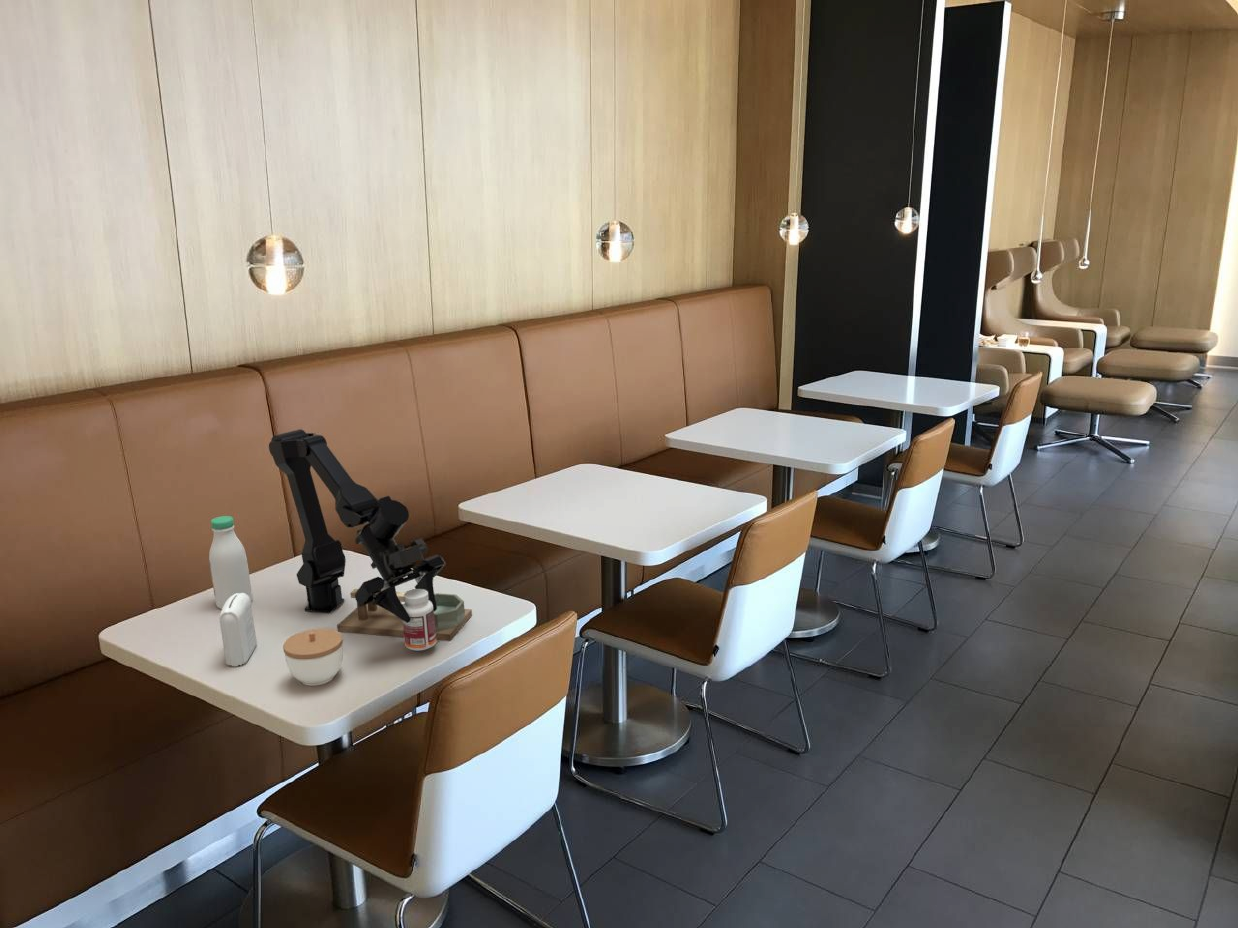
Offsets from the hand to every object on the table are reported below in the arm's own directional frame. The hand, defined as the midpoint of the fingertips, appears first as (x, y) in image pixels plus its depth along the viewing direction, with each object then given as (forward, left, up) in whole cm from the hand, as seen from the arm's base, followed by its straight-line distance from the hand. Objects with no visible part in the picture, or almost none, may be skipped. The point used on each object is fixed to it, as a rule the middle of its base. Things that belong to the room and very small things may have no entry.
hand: (422, 615), depth 201 cm
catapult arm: (-9, +12, -6) cm, 16 cm away
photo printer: (-36, -7, -8) cm, 38 cm away
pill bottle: (-1, +1, -7) cm, 7 cm away
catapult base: (-10, +12, -8) cm, 17 cm away
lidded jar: (-16, -13, -8) cm, 23 cm away
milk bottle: (-52, +15, -8) cm, 55 cm away
